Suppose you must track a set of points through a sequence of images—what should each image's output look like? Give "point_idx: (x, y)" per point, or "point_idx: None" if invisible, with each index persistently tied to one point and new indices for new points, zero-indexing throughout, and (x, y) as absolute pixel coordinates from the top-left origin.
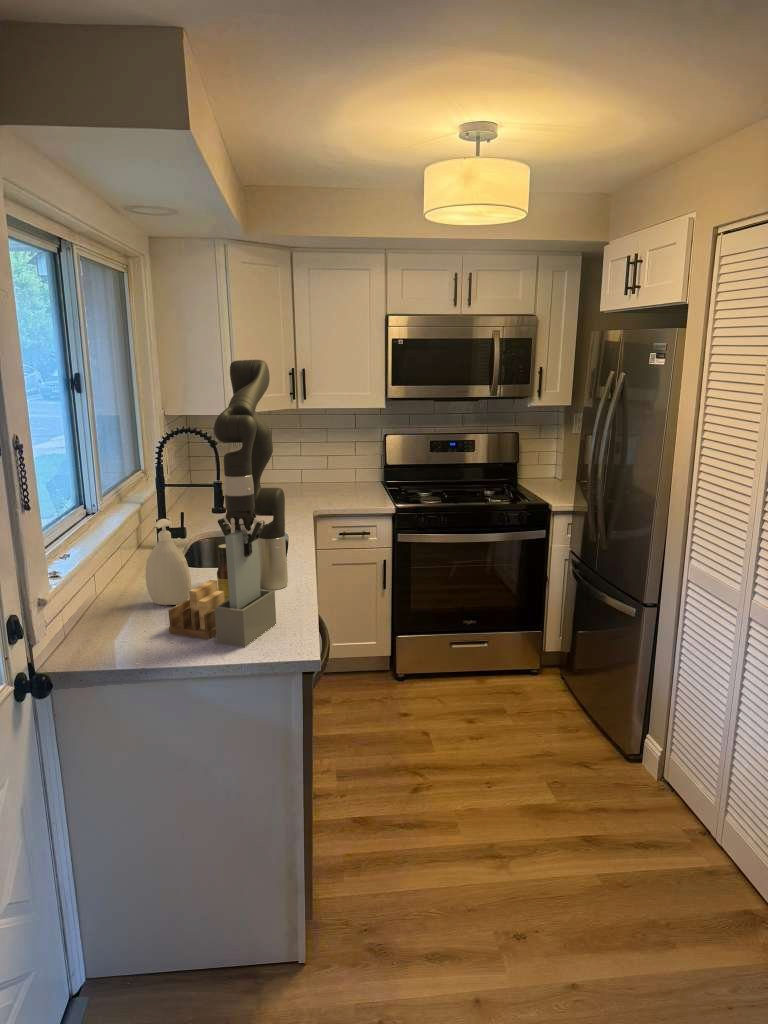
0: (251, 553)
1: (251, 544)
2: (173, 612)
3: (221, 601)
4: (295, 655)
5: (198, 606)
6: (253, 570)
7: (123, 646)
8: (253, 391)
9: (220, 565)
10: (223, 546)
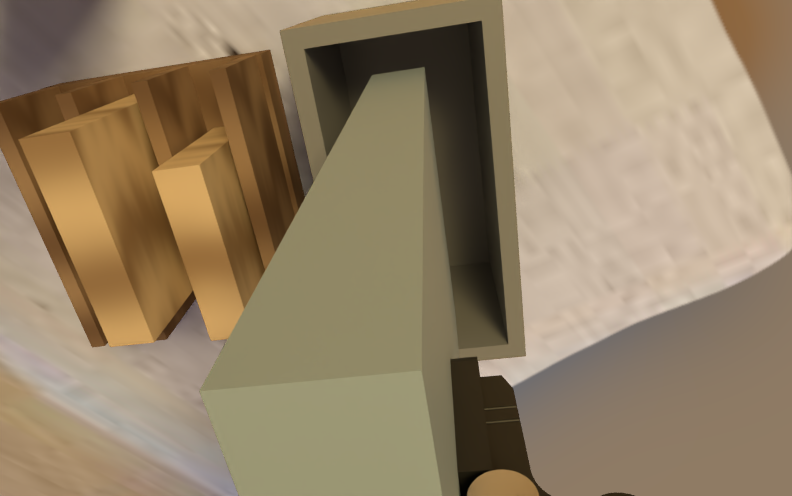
0: (504, 383)
1: (529, 468)
2: None
3: (226, 179)
4: (737, 241)
5: (187, 284)
6: (436, 204)
7: (115, 416)
8: None
9: None
10: None
